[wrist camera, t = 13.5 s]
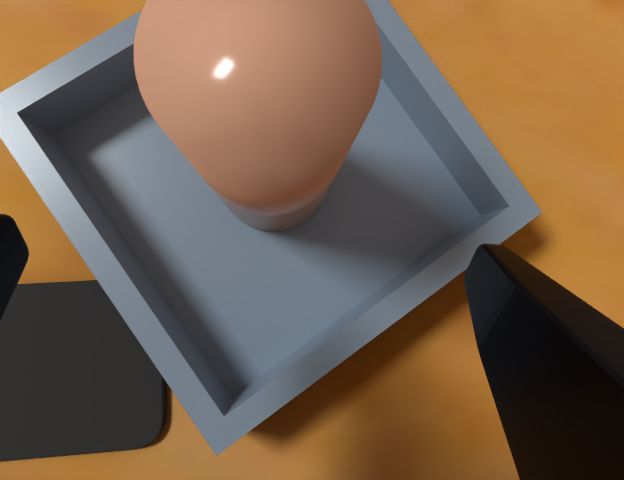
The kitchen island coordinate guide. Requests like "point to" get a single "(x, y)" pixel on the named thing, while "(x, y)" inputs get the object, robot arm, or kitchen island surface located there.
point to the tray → (253, 242)
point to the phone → (73, 375)
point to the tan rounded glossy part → (260, 95)
